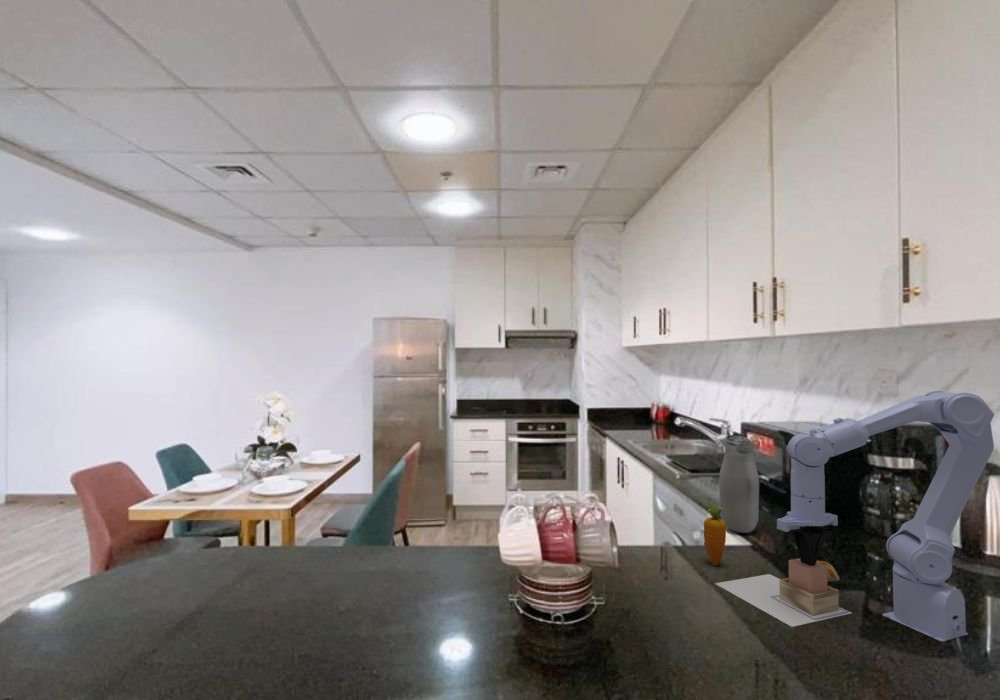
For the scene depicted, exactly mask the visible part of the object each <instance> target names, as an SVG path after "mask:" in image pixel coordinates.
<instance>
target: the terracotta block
mask: <svg viewBox="0 0 1000 700" xmlns="http://www.w3.org/2000/svg"><path fill="white" fill-rule="evenodd" d="M788 578H789V584H791V585H793V586H795V587H798V588H800V589H802V590H804V591H806V592H808V593H810V594H812V595H813V594H818V593H823V592H828V590H827V586H828V582H827V566H825V565H822V564H820V563H817V562H816V565H813V566H809V565H807V564H805V563H802V562H801V560H800V557H799V558H795V559H789V560H788Z"/></svg>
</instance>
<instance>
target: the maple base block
mask: <svg viewBox="0 0 1000 700" xmlns="http://www.w3.org/2000/svg"><path fill="white" fill-rule="evenodd" d="M780 579H781V578H780ZM827 590H828V592H823V593H818V594H813V595H812V594H810V593H808V592H806V591H804V590H802V589H800V588H798V587H795V586H793V585H791V584H789V577H787V578H782V579H781V580H780V599H781V600H783V601H785V602H787V603H789V604H791V605H793V606H795V607H797V608H799V609H800V610H802V611H804V612H806V613H808V614H810V615H812V616H816V615H820V614H825V613H829V612H834V611H838V610H839V607H840V599H839V598H840V596H839V595H840V593H839V591H840V590H838V589H836V588H834V587H832V586H830V585H827Z"/></svg>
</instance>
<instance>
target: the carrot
mask: <svg viewBox="0 0 1000 700" xmlns="http://www.w3.org/2000/svg"><path fill="white" fill-rule="evenodd" d="M708 505H709V506H710V508H708V509H707V512H708V513H709V515H710V516H709V517H707V518H706V519H704V522H703V533H704V534H703V537H704V538H703V539H704V545H705V551H706V555H707V556H708V559H709V561H710V563H711V565H713V566H714V567H715V566H717V567H718V566H719V564H720V562H721V560H722V557H723V555H724V551H725V546H726V539H727V537H726V534H727V527H726V523H725V522H724V521H723V520H722V519H721V518H720V516H721V515H720V513H721V511H722V508H720V505H716V506H714V504H713V502H712V501H709V502H708ZM715 507H716V508H715Z"/></svg>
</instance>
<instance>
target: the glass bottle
mask: <svg viewBox="0 0 1000 700" xmlns="http://www.w3.org/2000/svg"><path fill="white" fill-rule="evenodd" d="M754 449H755V448H754V445H753V442H752V441H751V439H749V438H748V437H745V436H742V435H734V436H730V437H729V438H727V440H726V442H725V446H724V454H723V461H722V464H721V466H720V470H719V475H718V476H719V479H718V485H719V486H718V487H719V490H718V491H719V507H720V508H722V511H721V513H720V515H719V516H720V519H721V520H723V521H724V522H725V523H726V529H727V528H728V530H730V531H733V532H735V533H742V534H748V533H751V532H752V531H754V530H755V529H756V527H757V525H758V522H759V516H760V515H759V513H760V511H759V510H760V509H759V507H760V506H759V505H760V504H759V503H760V497H759V496H760V481H759V480H760V478H759V474H758V470H757V465H756V461H755V454H754Z"/></svg>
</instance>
